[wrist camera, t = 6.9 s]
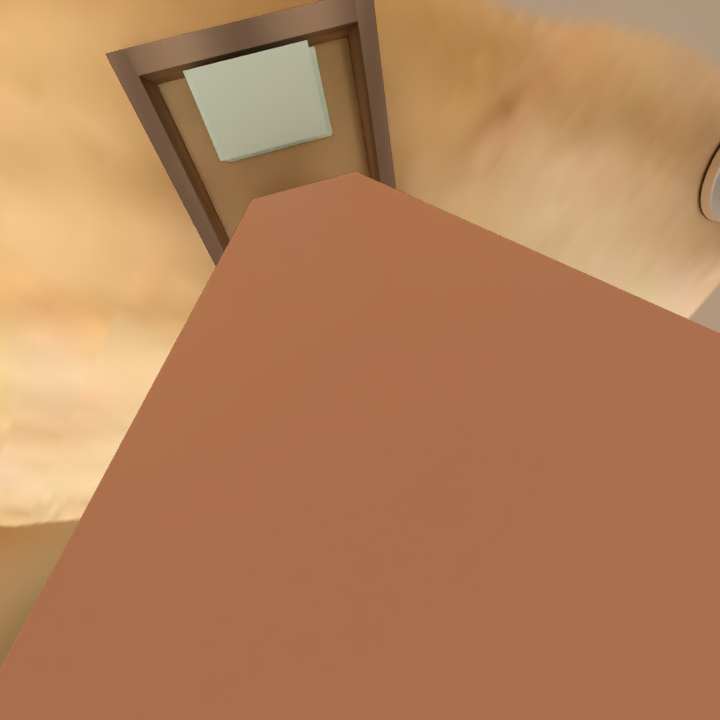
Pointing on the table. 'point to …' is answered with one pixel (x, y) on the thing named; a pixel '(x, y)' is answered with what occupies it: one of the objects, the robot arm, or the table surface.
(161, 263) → the table surface
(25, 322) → the table surface
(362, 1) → the frame
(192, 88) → the pale green block
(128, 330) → the table surface
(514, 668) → the tall pink block
